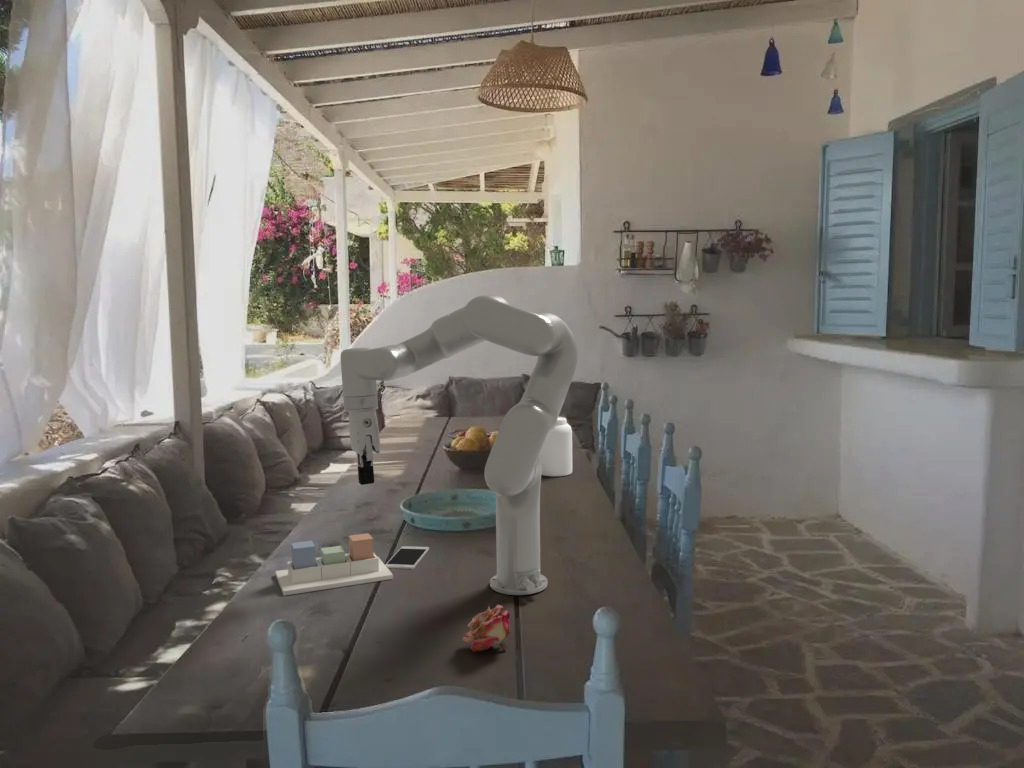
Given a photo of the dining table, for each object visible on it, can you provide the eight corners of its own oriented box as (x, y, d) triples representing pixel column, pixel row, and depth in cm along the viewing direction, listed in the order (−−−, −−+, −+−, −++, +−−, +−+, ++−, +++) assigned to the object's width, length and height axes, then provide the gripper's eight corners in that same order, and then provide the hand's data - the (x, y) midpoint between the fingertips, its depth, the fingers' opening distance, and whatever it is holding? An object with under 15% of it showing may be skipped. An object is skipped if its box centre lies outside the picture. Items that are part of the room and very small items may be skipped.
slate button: (316, 567, 181) (315, 546, 180) (295, 570, 179) (293, 548, 179) (312, 561, 185) (311, 540, 185) (292, 564, 183) (291, 543, 183)
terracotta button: (373, 559, 186) (372, 538, 185) (353, 562, 184) (352, 541, 184) (369, 553, 190) (368, 533, 190) (349, 556, 188) (348, 535, 188)
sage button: (345, 572, 184) (344, 551, 183) (325, 575, 182) (324, 554, 181) (341, 566, 188) (340, 545, 187) (321, 569, 186) (320, 548, 186)
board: (393, 578, 183) (392, 561, 183) (283, 595, 174) (282, 577, 174) (378, 560, 196) (377, 544, 196) (275, 575, 187) (274, 558, 186)
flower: (523, 629, 150) (498, 594, 151) (526, 640, 141) (499, 603, 142) (481, 661, 150) (456, 626, 150) (481, 674, 140) (454, 636, 141)
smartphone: (429, 550, 205) (429, 546, 205) (413, 570, 190) (413, 566, 190) (402, 549, 206) (402, 545, 206) (383, 569, 191) (383, 565, 191)
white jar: (531, 471, 291) (530, 416, 289) (562, 468, 297) (561, 413, 294) (547, 478, 280) (546, 421, 278) (578, 474, 285) (578, 418, 283)
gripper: (385, 404, 177) (391, 487, 179) (369, 398, 190) (374, 475, 192) (351, 408, 174) (357, 492, 176) (337, 401, 187) (343, 479, 189)
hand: (366, 483), depth 184 cm, fingers closed
